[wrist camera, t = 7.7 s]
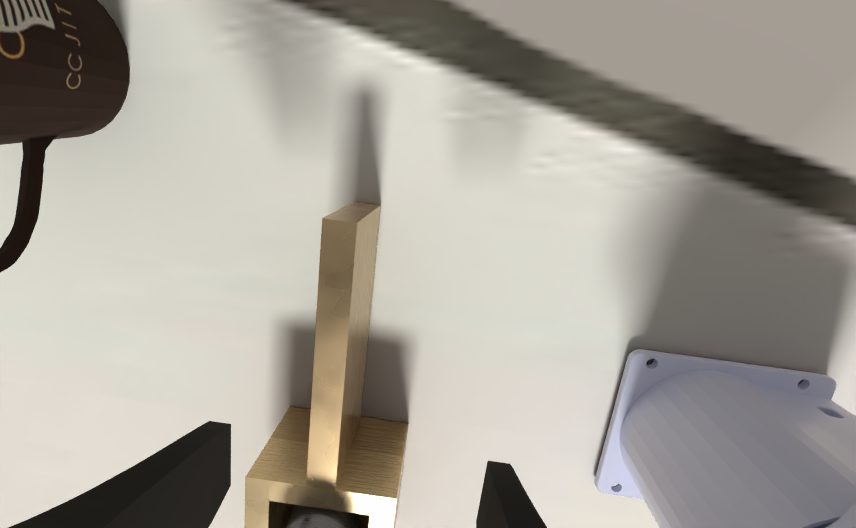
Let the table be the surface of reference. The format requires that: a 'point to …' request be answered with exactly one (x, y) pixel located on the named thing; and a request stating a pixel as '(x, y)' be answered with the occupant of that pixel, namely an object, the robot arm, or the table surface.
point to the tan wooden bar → (334, 400)
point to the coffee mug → (54, 89)
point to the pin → (321, 518)
